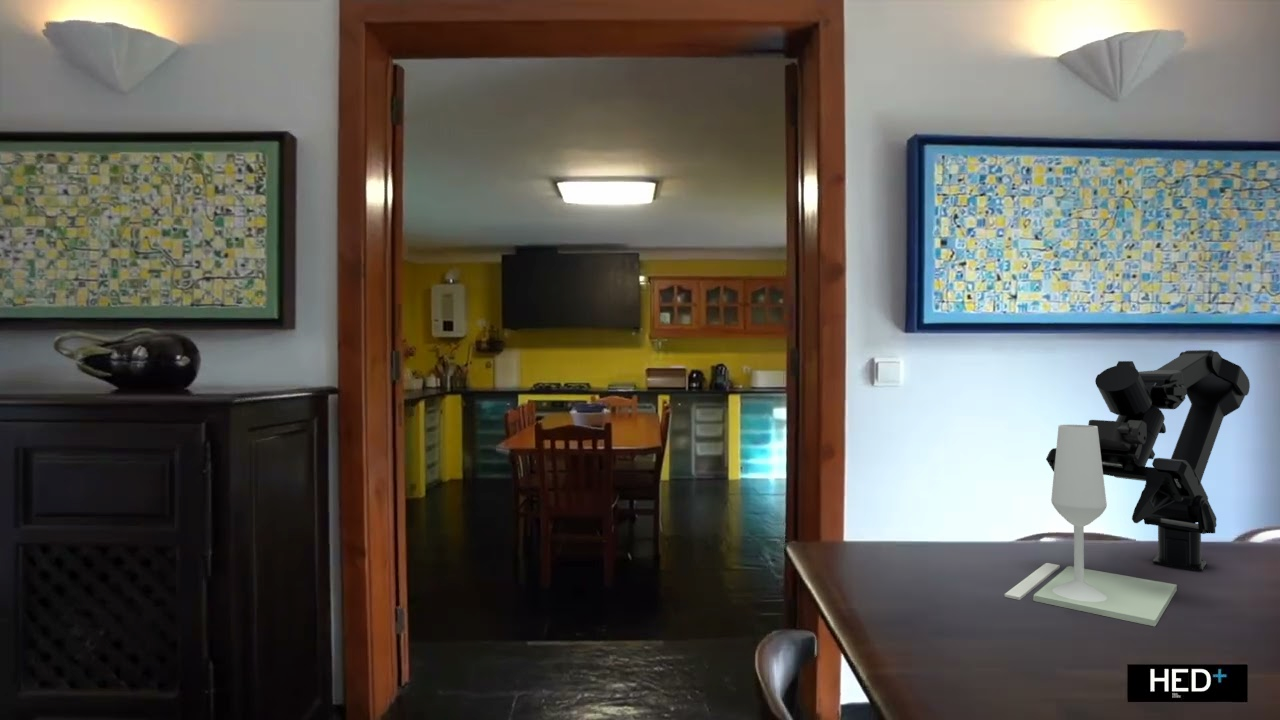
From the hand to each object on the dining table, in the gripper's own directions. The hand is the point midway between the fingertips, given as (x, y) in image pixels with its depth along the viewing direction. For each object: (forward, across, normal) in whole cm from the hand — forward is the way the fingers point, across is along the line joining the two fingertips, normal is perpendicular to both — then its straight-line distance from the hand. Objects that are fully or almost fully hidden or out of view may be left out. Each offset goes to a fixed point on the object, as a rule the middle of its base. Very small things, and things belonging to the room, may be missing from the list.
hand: (1098, 515), depth 102 cm
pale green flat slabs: (+9, 0, +7) cm, 11 cm away
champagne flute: (+12, 0, +3) cm, 12 cm away
